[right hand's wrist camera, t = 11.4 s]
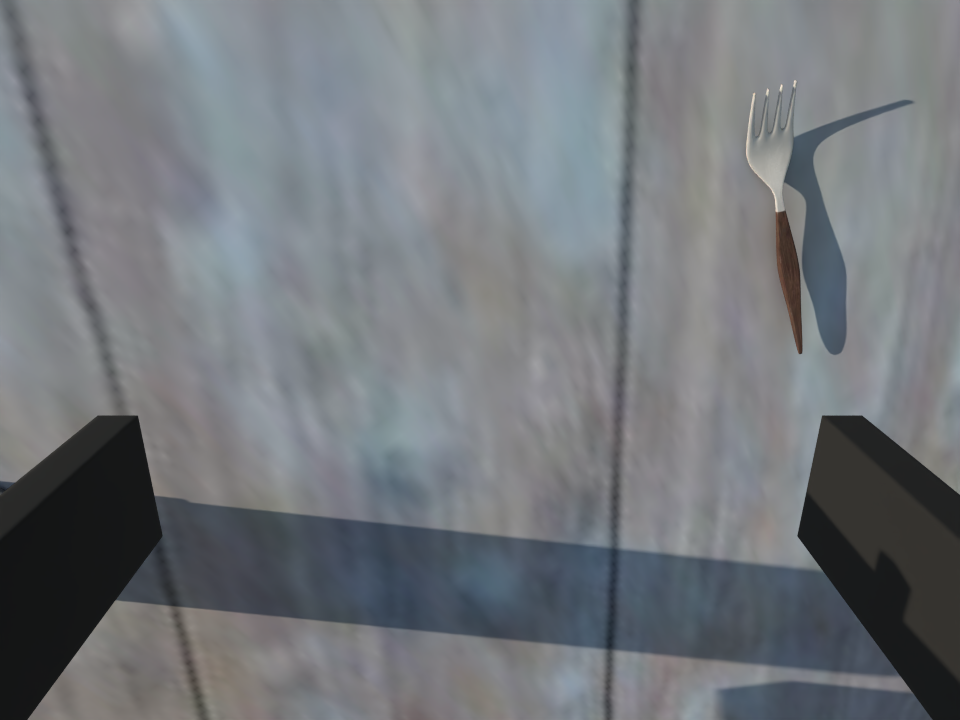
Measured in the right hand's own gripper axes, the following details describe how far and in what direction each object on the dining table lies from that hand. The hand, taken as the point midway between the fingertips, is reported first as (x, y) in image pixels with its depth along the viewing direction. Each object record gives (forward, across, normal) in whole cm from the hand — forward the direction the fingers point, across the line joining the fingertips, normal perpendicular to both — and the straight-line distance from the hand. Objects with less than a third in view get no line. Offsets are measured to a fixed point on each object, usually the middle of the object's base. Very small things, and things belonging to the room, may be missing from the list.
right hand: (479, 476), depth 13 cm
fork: (+28, +18, 0) cm, 33 cm away
